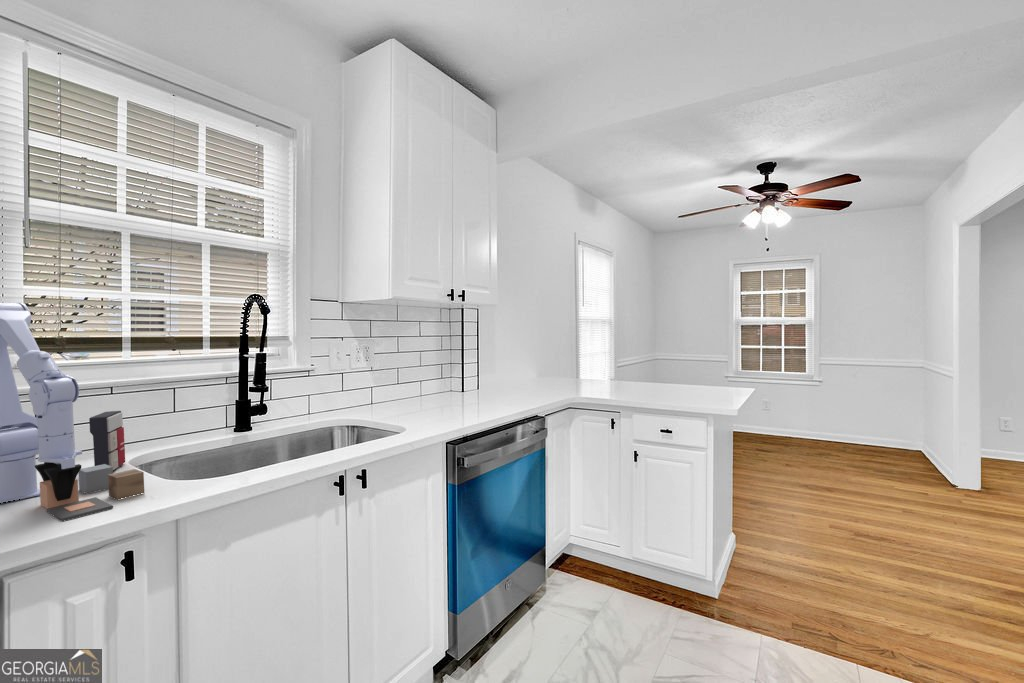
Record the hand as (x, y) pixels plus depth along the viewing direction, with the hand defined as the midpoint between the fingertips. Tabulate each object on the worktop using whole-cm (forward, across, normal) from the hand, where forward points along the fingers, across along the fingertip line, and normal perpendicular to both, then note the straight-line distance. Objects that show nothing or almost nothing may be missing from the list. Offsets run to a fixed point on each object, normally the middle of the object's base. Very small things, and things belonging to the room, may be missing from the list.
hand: (59, 497), depth 107 cm
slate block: (+2, +6, -8) cm, 10 cm away
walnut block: (+2, -6, -10) cm, 12 cm away
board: (+1, -9, -1) cm, 9 cm away
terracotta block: (+1, 0, 0) cm, 1 cm away
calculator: (+2, +24, -16) cm, 29 cm away
